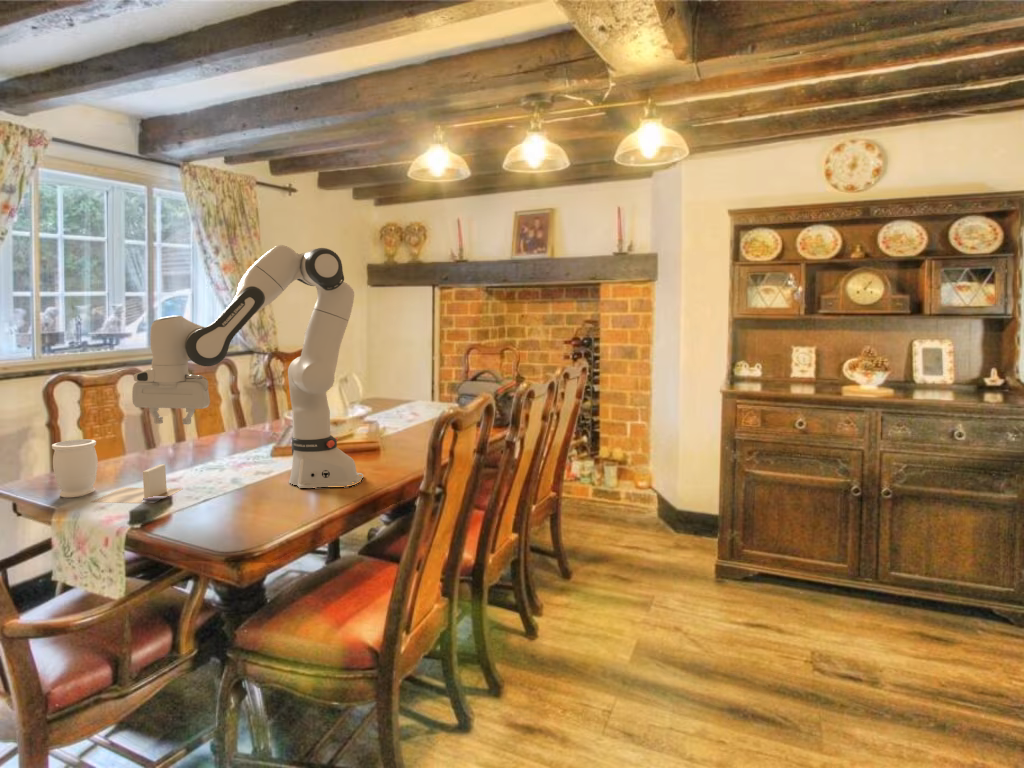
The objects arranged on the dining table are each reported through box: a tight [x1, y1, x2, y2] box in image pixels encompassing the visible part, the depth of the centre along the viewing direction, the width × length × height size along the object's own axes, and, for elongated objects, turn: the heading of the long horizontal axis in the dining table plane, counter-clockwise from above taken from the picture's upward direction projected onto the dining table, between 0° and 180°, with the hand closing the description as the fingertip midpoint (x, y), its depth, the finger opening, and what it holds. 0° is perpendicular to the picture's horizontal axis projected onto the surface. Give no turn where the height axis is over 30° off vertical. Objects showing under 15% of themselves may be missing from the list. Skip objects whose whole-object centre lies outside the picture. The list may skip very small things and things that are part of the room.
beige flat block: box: [142, 463, 167, 498], centre depth 176 cm, size 2×8×8 cm, turn 179°
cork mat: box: [90, 487, 183, 504], centre depth 176 cm, size 18×14×1 cm
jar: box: [51, 438, 99, 499], centre depth 178 cm, size 11×10×15 cm
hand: (172, 423), depth 174 cm, fingers open, 7 cm apart
